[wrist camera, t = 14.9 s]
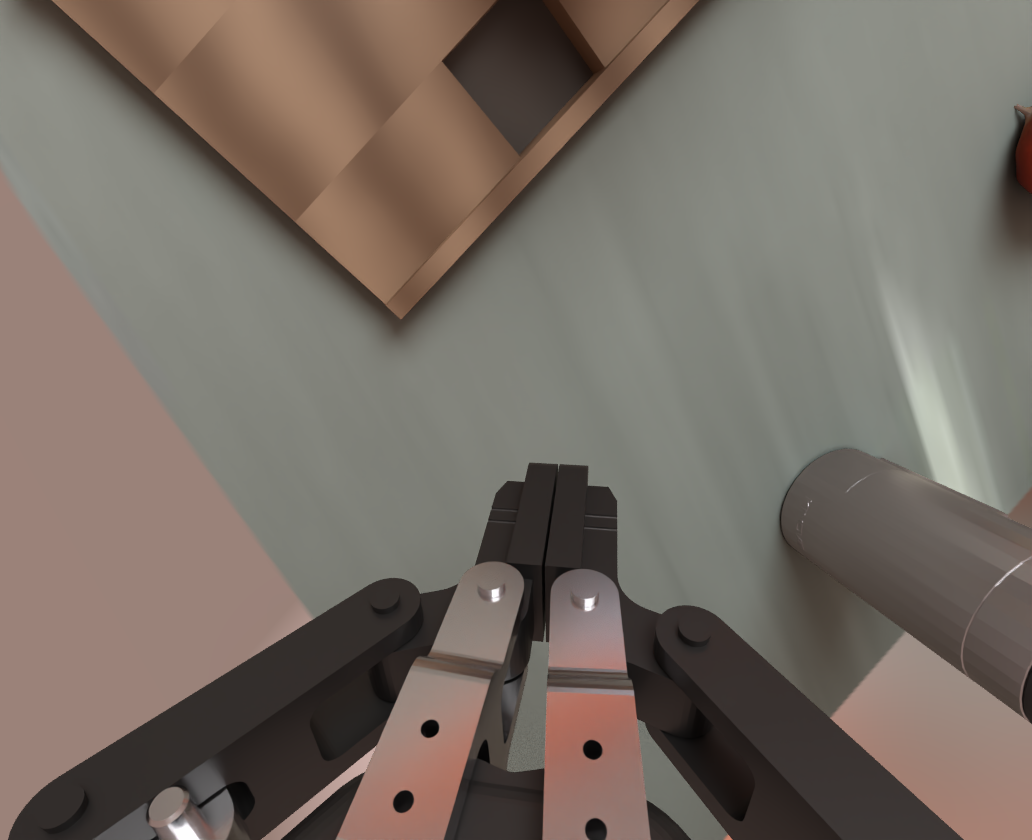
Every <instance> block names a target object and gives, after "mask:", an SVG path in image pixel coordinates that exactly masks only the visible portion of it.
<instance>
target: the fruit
mask: <svg viewBox="0 0 1032 840" xmlns="http://www.w3.org/2000/svg"><path fill="white" fill-rule="evenodd" d="M1014 108H1015V109H1017V110H1018V111H1020V112H1021V113H1023V114H1024V115H1025V125H1024V128H1023V130H1022V134H1021V137H1020V139H1019V142H1018V146H1017V148H1016V178H1017V180H1018V182H1019V183H1020V185H1021V186H1022V187H1024V188H1025V189H1026V190H1027V191H1028V192H1029V193H1031V194H1032V106H1031V107H1027V108H1025V107H1023V106H1021V105H1019V104H1017V106H1014Z"/></svg>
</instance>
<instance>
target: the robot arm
mask: <svg viewBox="0 0 1032 840" xmlns="http://www.w3.org/2000/svg"><path fill="white" fill-rule="evenodd" d="M781 526H782V531H783V535H784V537H785V539H786V541H787V542H788V543H789V544H790V545H791V546H792V547H793V548H794V549H795V550H797V551H798V552H799V553H801V554H802V555H803V556H805V557H806V558H807V559H809V560H810V561H811V562H813V563H814V564H815V565H817V566H818V567H820V568H821V569H822V570H824V571H825V572H826V573H828V574H829V575H830V576H831V577H833V578H834V579H835V580H837V581H838V582H840V583H841V584H842V585H844V586H845V587H846V588H848V589H849V590H850V591H852V592H853V593H854V594H856V595H857V596H859V597H860V598H861V599H863V600H864V601H865V602H867V603H868V604H869V605H871V606H872V607H874V608H875V609H876V610H878V611H879V612H880V613H882V614H883V615H884V616H886V617H887V618H888V619H890V620H891V621H893V622H894V623H895V624H897V625H898V626H899V627H901V628H902V629H903V630H905V631H906V632H907V633H909V634H910V635H912V636H913V637H914V638H916V639H917V640H918V641H920V642H921V643H922V644H924V645H925V646H927V647H928V648H929V649H931V650H932V651H934V652H935V653H936V654H937V655H939V656H940V657H941V658H943V659H944V660H946V661H947V662H948V663H950V664H951V665H953V666H954V667H955V668H956V669H958V670H959V671H961V672H962V673H963V674H965V675H966V676H967V677H969V678H970V679H971V680H973V681H974V682H976V683H977V684H978V685H980V686H981V687H983V688H984V689H985V690H987V691H988V692H989V693H991V694H992V695H993V696H995V697H996V698H997V699H999V700H1000V701H1002V702H1003V703H1004V704H1006V705H1007V706H1008V707H1010V708H1011V709H1012V710H1014V711H1015V712H1016V713H1018V714H1019V715H1020V716H1022V717H1023V718H1025V719H1026V720H1027V721H1029V722H1030V723H1031V724H1032V529H1031V528H1029V527H1026V526H1024V525H1022V524H1020V523H1018V522H1015V521H1013V520H1011V519H1010V518H1009V517H1008V515H1007V514H1005V513H1004V512H1002V511H999V510H997V509H995V508H993V507H991V506H988V505H986V504H984V503H982V502H979V501H977V500H975V499H973V498H970V497H968V496H966V495H964V494H962V493H959V492H957V491H955V490H953V489H950V488H948V487H946V486H944V485H942V484H939V483H937V482H935V481H933V480H930V479H928V478H926V477H924V476H921V475H919V474H917V473H915V472H913V471H910V470H908V469H906V468H904V467H901V466H899V465H897V464H895V463H892V462H890V461H888V460H886V459H884V458H880V459H877V458H875V457H873V456H871V455H869V454H866V453H864V452H862V451H859V450H856V449H840V450H835V451H832V452H830V453H827V454H825V455H823V456H821V457H820V458H818V459H817V460H815V461H813V462H812V463H811V464H810V465H809V466H808V467H807V468H805V469H804V470H803V472H802V473H801V474H800V475H799V476H798V477H797V479H796V480H795V481H794V483H793V485H792V486H791V488H790V490H789V491H788V494H787V496H786V499H785V501H784V504H783V509H782V513H781ZM545 623H546V642H549V669H548V678H547V706H546V740H545V768H544V769H537V770H530V771H522V772H508V771H507V762H508V756H509V750H510V746H511V742H512V738H513V733H514V729H515V725H516V720H517V716H518V712H519V708H520V703H521V699H522V695H523V690H524V686H525V682H526V678H527V672H528V662H529V659H530V653H531V646H532V641H541V642H543V638H544V631H545ZM637 719H639V720H641V721H643V722H645V724H646V728H647V730H648V732H649V734H650V735H651V737H652V738H653V739H654V741H655V742H656V743H657V745H658V746H659V747H660V748H661V750H662V751H663V752H664V753H665V755H666V756H667V757H668V758H669V760H670V761H671V762H672V764H673V765H674V766H675V767H676V769H677V770H678V771H679V772H680V774H681V775H682V776H683V777H684V779H685V780H686V781H687V783H688V784H689V785H690V786H691V788H692V789H693V790H694V791H695V793H696V794H697V795H698V796H699V798H700V799H701V800H702V802H703V803H704V804H705V805H706V807H707V808H708V809H709V810H710V812H711V813H712V814H713V815H714V817H715V818H716V819H717V821H718V822H719V823H720V824H721V826H722V827H723V828H724V829H725V831H726V832H727V833H728V835H729V836H730V837H731V838H732V839H733V840H963V839H962V838H961V837H960V836H959V835H958V834H957V833H956V832H955V831H954V830H952V829H951V828H950V827H949V826H948V825H947V824H946V823H945V822H944V821H942V820H941V819H940V818H939V817H938V816H937V815H936V814H935V813H934V812H932V811H931V810H930V809H929V808H928V807H927V806H926V805H925V804H924V803H923V802H922V801H920V800H919V799H918V798H917V797H916V796H915V795H914V794H913V793H912V792H911V791H909V790H908V789H907V788H906V787H905V786H904V785H903V784H902V783H900V782H899V781H898V780H897V779H896V778H895V777H894V776H893V775H892V774H891V773H890V772H888V771H887V770H886V769H885V768H884V767H883V766H881V764H880V763H878V762H877V761H876V760H875V759H874V758H873V757H872V756H871V755H869V753H867V752H866V751H865V750H864V749H863V748H862V747H861V746H860V745H859V744H858V743H856V742H855V741H854V740H853V739H852V738H851V737H850V736H848V734H846V733H845V732H844V731H843V730H842V729H841V728H840V727H839V726H838V725H837V724H835V723H834V722H833V721H832V720H831V719H830V718H829V717H828V716H827V715H826V714H825V713H823V712H822V711H821V710H820V709H819V708H818V707H817V706H816V705H815V704H813V703H812V702H811V701H810V700H809V699H808V698H807V697H806V696H805V695H804V694H802V693H801V692H800V691H799V690H798V689H797V688H796V687H795V686H794V685H793V684H791V683H790V682H789V681H788V680H787V679H786V678H785V677H784V676H783V675H782V674H780V673H779V672H778V671H777V670H776V669H775V668H774V667H773V666H772V665H770V664H769V663H768V662H767V661H766V660H765V659H764V658H763V657H762V656H761V655H759V654H758V653H757V652H756V651H755V650H754V649H753V648H752V647H751V646H750V645H748V644H747V643H746V642H745V641H744V640H743V639H742V638H741V637H740V636H739V635H737V634H736V633H735V632H734V631H733V630H732V629H731V628H730V627H729V626H728V625H726V624H725V623H724V622H723V621H722V620H721V619H720V618H718V617H717V616H716V615H714V614H713V613H711V612H709V611H707V610H705V609H702V608H699V607H695V606H687V605H683V606H676V607H673V608H670V609H668V610H666V611H665V612H664V613H663V614H659V613H656V612H653V611H651V610H648V609H645V608H643V607H641V606H639V605H637V604H636V603H634V602H633V601H631V600H630V599H629V598H628V597H627V596H626V595H625V594H624V592H623V591H622V590H621V588H620V586H619V583H618V578H617V500H616V498H615V497H614V495H613V494H612V492H611V490H610V489H609V487H600V486H588V466H582V465H564V464H560V466H559V472H558V464H544V463H529V465H528V469H527V474H526V478H525V482H516V481H507V482H506V483H505V484H504V485H503V486H502V487H501V489H500V490H499V491H498V492H497V493H496V495H495V498H494V502H493V505H492V510H491V512H490V516H489V519H488V523H487V526H486V529H485V533H484V536H483V540H482V543H481V547H480V550H479V554H478V557H477V560H476V564H475V566H473V567H472V568H470V569H469V570H468V571H466V572H465V573H464V575H463V576H462V577H461V579H460V581H459V584H457V585H455V586H453V587H450V588H448V589H444V590H439V591H434V592H428V593H423V594H420V593H419V591H418V589H417V588H416V586H415V585H414V584H412V583H411V582H409V581H407V580H404V579H399V578H388V579H383V580H379V581H376V582H374V583H372V584H370V585H368V586H367V587H365V588H363V589H362V590H360V591H359V592H357V593H355V594H354V595H352V596H351V597H349V598H347V599H346V600H344V601H342V602H341V603H339V604H338V605H336V606H334V607H333V608H331V609H329V610H328V611H326V612H325V613H323V614H321V615H320V616H318V617H317V618H315V619H313V620H312V621H310V622H308V623H307V624H305V625H304V626H302V627H300V628H299V629H297V630H295V631H294V632H292V633H291V634H289V635H287V636H286V637H284V638H283V639H281V640H279V641H278V642H276V643H274V644H273V645H271V646H270V647H268V648H266V649H265V650H263V651H262V652H260V653H258V654H257V655H255V656H253V657H252V658H250V659H249V660H247V661H245V662H244V663H242V664H241V665H239V666H237V667H236V668H234V669H233V670H231V671H229V672H228V673H226V674H224V675H223V676H221V677H219V678H218V679H216V680H215V681H213V682H211V683H210V684H208V685H206V686H205V687H203V688H202V689H200V690H198V691H197V692H195V693H194V694H192V695H190V696H189V697H187V698H185V699H184V700H182V701H181V702H179V703H178V704H176V705H174V706H173V707H171V708H169V709H168V710H166V711H165V712H163V713H161V714H160V715H158V716H156V717H155V718H153V719H152V720H150V721H148V722H147V723H145V724H143V725H142V726H140V727H138V728H137V729H136V730H134V731H132V732H130V733H129V734H127V735H126V736H124V737H122V738H121V739H119V740H117V741H116V742H114V743H113V744H111V745H109V746H108V747H106V748H105V749H103V750H101V751H100V752H98V753H96V754H95V755H93V756H92V757H90V758H88V759H87V760H85V761H84V762H82V763H80V764H79V765H77V766H75V767H74V768H72V769H71V770H69V771H67V772H66V773H64V774H62V775H61V776H59V777H58V778H57V779H55V780H53V781H52V782H50V783H49V784H48V785H46V786H45V787H44V788H43V789H41V790H40V791H39V792H38V793H37V794H36V795H35V796H34V797H33V798H32V799H31V800H30V802H29V803H28V804H27V805H26V806H25V808H24V809H23V810H22V811H21V813H20V814H19V816H18V817H17V819H16V821H15V823H14V824H13V827H12V829H11V831H10V835H9V838H8V840H261V839H262V838H263V837H264V836H266V835H267V834H268V833H269V832H271V830H273V829H274V828H276V827H277V826H278V825H279V824H280V823H282V822H283V821H284V820H285V819H287V818H288V817H289V816H290V815H291V814H293V813H294V812H295V811H296V810H298V809H299V808H300V807H301V806H303V805H304V804H305V803H306V802H308V801H309V800H310V799H311V798H312V797H313V796H315V795H316V794H317V793H318V792H320V791H321V790H322V789H323V788H325V787H326V786H327V785H328V784H330V783H331V782H332V781H333V780H335V779H336V778H337V777H338V776H339V775H341V774H342V773H343V772H344V771H346V770H347V769H348V768H349V767H351V766H352V765H353V764H354V763H356V762H357V761H358V760H359V759H360V758H362V757H363V756H364V755H365V754H367V753H368V752H369V751H370V750H372V749H373V748H374V747H375V746H376V745H377V746H376V749H375V751H374V753H373V755H372V758H371V760H370V762H369V765H368V767H367V769H366V771H365V772H364V773H362V774H360V775H359V776H357V777H355V778H353V779H352V780H351V781H349V782H348V783H346V784H345V785H343V786H342V787H341V788H340V789H338V790H337V791H336V792H335V793H334V794H332V795H331V796H330V797H329V798H328V799H327V800H325V801H324V802H323V803H322V804H321V805H320V806H319V807H317V808H316V809H315V810H314V811H313V812H312V813H311V814H309V815H308V816H307V817H306V818H305V819H304V820H303V821H301V822H300V823H299V824H298V825H297V826H296V827H295V828H293V829H292V830H291V831H290V832H289V833H288V834H287V835H286V836H284V837H283V838H282V839H281V840H691V839H690V838H689V837H688V836H687V835H686V833H685V832H684V831H683V830H682V829H681V828H680V827H679V825H678V824H676V823H675V822H674V821H673V820H672V819H671V818H670V817H669V816H668V815H667V814H666V813H664V812H663V811H662V810H660V809H659V808H658V807H656V806H655V805H654V804H652V803H650V802H649V801H647V800H646V794H645V785H644V776H643V767H642V758H641V750H640V741H639V732H638V723H637Z"/></svg>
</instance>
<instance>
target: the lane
mask: <svg viewBox="0 0 1032 840" xmlns="http://www.w3.org/2000/svg"><path fill="white" fill-rule="evenodd" d="M52 1H53V2H54V3H55V4H56V5H57V6H58V7H60V8H61V9H62V10H63V11H64V12H65V13H66V14H67V15H68V16H69V17H70V18H72V19H73V20H74V21H75V22H76V23H77V24H78V25H79V26H80V27H81V28H83V29H84V30H85V31H86V32H87V33H88V34H89V35H90V36H91V37H92V38H94V39H95V40H96V41H97V42H98V43H99V44H100V45H101V46H102V47H103V48H105V49H106V50H107V51H108V52H109V53H110V54H111V55H112V56H113V57H114V58H116V59H117V60H118V61H119V62H120V63H121V64H122V65H123V66H124V67H125V68H126V69H128V70H129V71H130V72H131V73H132V74H133V75H134V76H135V77H136V78H137V79H139V80H140V81H141V82H142V83H143V84H144V85H145V86H146V87H147V88H148V89H150V90H151V91H152V92H153V93H154V94H155V95H156V96H157V97H158V98H159V99H161V100H162V101H163V102H164V103H165V104H166V105H167V106H168V107H169V108H170V109H171V110H173V111H174V112H175V113H176V114H177V115H178V116H179V117H180V118H181V119H182V120H184V121H185V122H186V123H187V124H188V125H189V126H190V127H191V128H192V129H193V130H195V131H196V132H197V133H198V134H199V135H200V136H201V137H202V138H203V139H204V140H206V141H207V142H208V143H209V144H210V145H211V146H212V147H213V148H214V149H215V150H216V151H218V152H219V153H220V154H221V155H222V156H223V157H224V158H225V159H226V160H227V161H229V162H230V163H231V164H232V165H233V166H234V167H235V168H236V169H237V170H238V171H240V172H241V173H242V174H243V175H244V176H245V177H246V178H247V179H248V180H249V181H251V182H252V183H253V184H254V185H255V186H256V187H257V188H258V189H259V190H260V191H261V192H263V193H264V194H265V195H266V196H267V197H268V198H269V199H270V200H271V201H272V202H274V203H275V204H276V205H277V206H278V207H279V208H280V209H281V210H282V211H283V212H285V213H286V214H287V215H288V216H289V217H290V218H291V219H292V220H293V221H294V222H296V223H297V224H298V225H299V226H300V227H301V228H302V229H303V230H304V231H305V232H307V233H308V234H309V235H310V236H311V237H312V238H313V239H314V240H315V241H316V242H317V243H319V244H320V245H321V246H322V247H323V248H324V249H325V250H326V251H327V252H328V253H330V254H331V255H332V256H333V257H334V258H335V259H336V260H337V261H338V262H339V263H341V264H342V265H343V266H344V267H345V268H346V269H347V270H348V271H349V272H350V273H352V274H353V275H354V276H355V277H356V278H357V279H358V280H359V281H360V282H361V283H362V284H364V285H365V286H366V287H367V288H368V289H369V290H370V291H371V292H372V293H373V294H375V295H376V296H377V297H378V298H379V299H380V300H381V301H382V302H383V303H384V304H385V305H386V306H387V307H388V308H389V309H390V310H391V311H392V312H393V313H394V314H395V315H397V316H398V317H399V318H400V319H402V318H403V317H404V316H405V315H406V314H407V313H408V312H409V311H410V310H411V309H412V307H413V306H414V305H415V304H416V303H417V302H418V301H419V300H420V299H421V298H422V297H423V296H424V295H425V294H426V292H427V291H428V290H429V289H430V288H431V287H432V286H433V285H434V284H435V283H436V282H437V281H438V280H439V279H440V277H441V276H442V275H443V274H444V273H445V272H446V271H447V270H448V269H449V268H450V267H451V266H452V265H453V264H454V262H455V261H456V260H457V259H458V258H459V257H460V256H461V255H462V254H463V253H464V252H465V251H466V250H467V249H468V247H469V246H470V245H471V244H472V243H473V242H474V241H475V240H476V239H477V238H478V237H479V236H480V235H481V234H482V232H483V231H484V230H485V229H486V228H487V227H488V226H489V225H490V224H491V223H492V222H493V221H494V220H495V219H496V217H497V216H498V215H499V214H500V213H501V212H502V211H503V210H504V209H505V208H506V207H507V206H508V205H509V204H510V202H511V201H512V200H513V199H514V198H515V197H516V196H517V195H518V194H519V193H520V192H521V191H522V190H523V189H524V187H525V186H526V185H527V184H528V183H529V182H530V181H531V180H532V179H533V178H534V177H535V176H536V175H537V173H538V172H539V171H540V170H541V169H542V168H543V167H544V166H545V165H546V164H547V163H548V162H549V161H550V160H551V158H552V157H553V156H554V155H555V154H556V153H557V152H558V151H559V150H560V149H561V148H562V147H563V146H564V145H565V143H566V142H567V141H568V140H569V139H570V138H571V137H572V136H573V135H574V134H575V133H576V132H577V131H578V130H579V128H580V127H581V126H582V125H583V124H584V123H585V122H586V121H587V120H588V119H589V118H590V117H591V116H592V115H593V113H594V112H595V111H596V110H597V109H598V108H599V107H600V106H601V105H602V104H603V103H604V102H605V101H606V100H607V98H608V97H609V96H610V95H611V94H612V93H613V92H614V91H615V90H616V89H617V88H618V87H619V86H620V85H621V83H622V82H623V81H624V80H625V79H626V78H627V77H628V76H629V75H630V74H631V73H632V72H633V71H634V70H635V68H636V67H637V66H638V65H639V64H640V63H641V62H642V61H643V60H644V59H645V58H646V57H647V56H648V55H649V53H650V52H651V51H652V50H653V49H654V48H655V47H656V46H657V45H658V44H659V43H660V42H661V41H662V40H663V38H664V37H665V36H666V35H667V34H668V33H669V32H670V31H671V30H672V29H673V28H674V27H675V26H676V25H677V23H678V22H679V21H680V20H681V19H682V18H683V17H684V16H685V15H686V14H687V13H688V12H689V11H690V10H691V8H692V7H693V6H694V5H695V4H696V3H697V2H698V1H699V0H52Z"/></svg>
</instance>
